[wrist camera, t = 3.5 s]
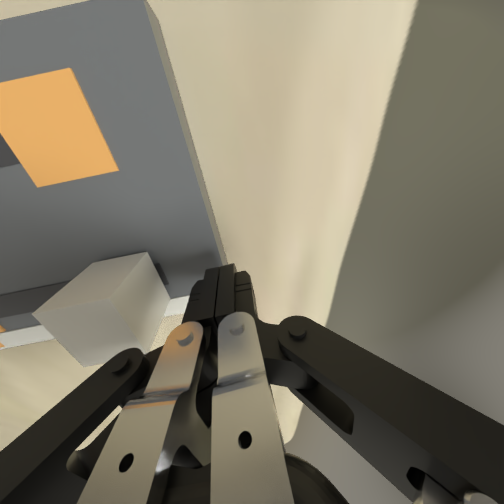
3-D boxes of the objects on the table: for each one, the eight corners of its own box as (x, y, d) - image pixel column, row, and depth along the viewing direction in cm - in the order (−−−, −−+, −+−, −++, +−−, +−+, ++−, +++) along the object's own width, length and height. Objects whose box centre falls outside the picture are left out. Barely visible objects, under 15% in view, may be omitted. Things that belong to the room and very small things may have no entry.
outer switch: (92, 262, 12) (31, 314, 8) (147, 251, 11) (108, 298, 8) (123, 308, 13) (83, 367, 10) (170, 298, 13) (147, 354, 10)
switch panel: (-354, 132, 9) (-505, 128, 7) (158, 20, 9) (138, -13, 7) (-56, 343, 16) (-93, 369, 14) (234, 285, 16) (234, 304, 14)
